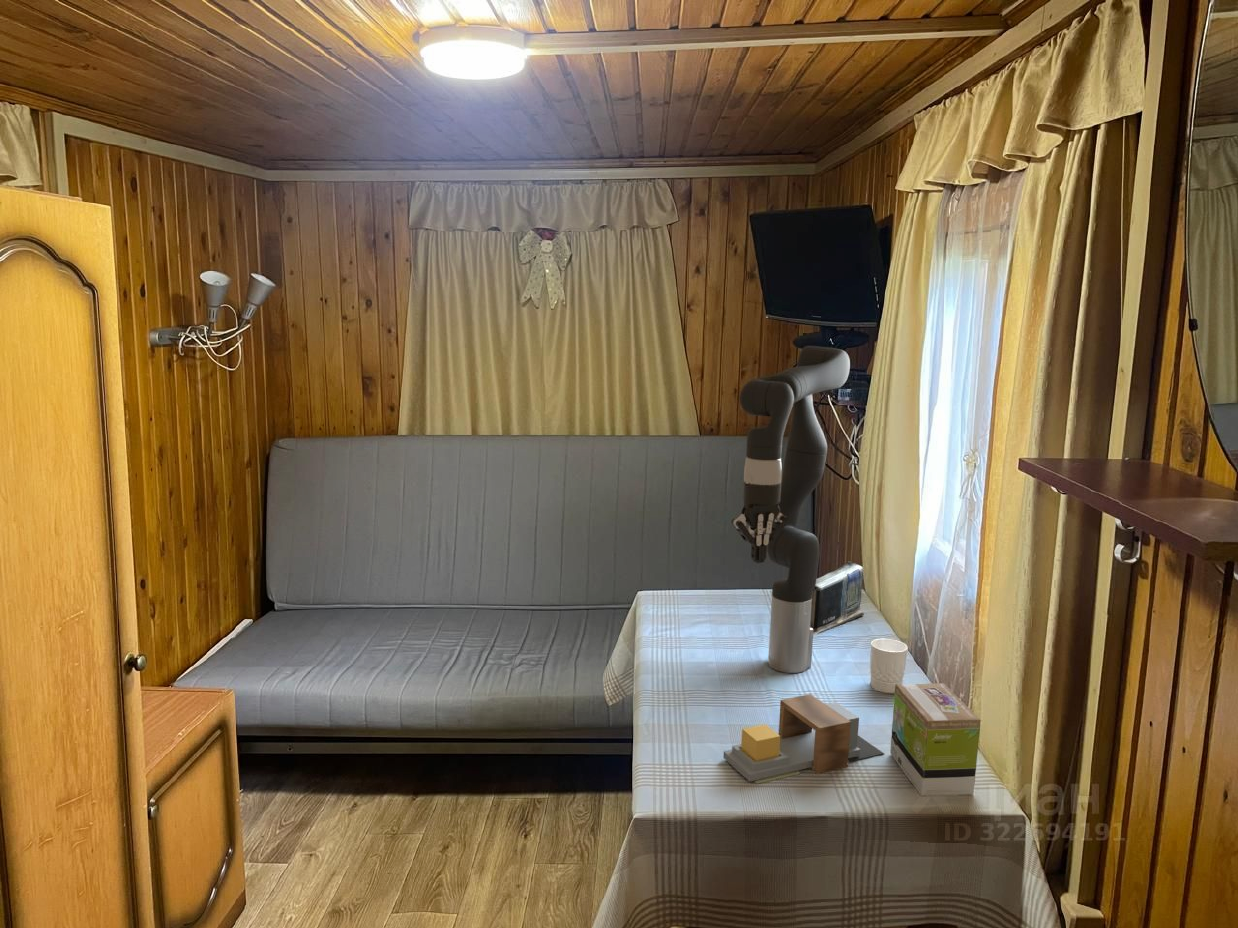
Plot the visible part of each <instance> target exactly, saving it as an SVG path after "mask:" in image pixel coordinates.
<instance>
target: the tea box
mask: <svg viewBox="0 0 1238 928" xmlns="http://www.w3.org/2000/svg"><path fill="white" fill-rule="evenodd" d="M893 694H894V696H893V710H892V724H891V738H890V752H889V753H890V755H891V756H892V757H893V759H894V760H895V762H896V763H897V765H898V766H899V767H900V768H901V770H902V771H903V772H904V774H905V775H906V777H907V779H908V780H909V781H910V782H911V783H912V785H913V787H914V788H915V789H916V790H917V792H918V794H919V795H920V796H921V797H940V796H941V797H942V796H944V797H946V796H963V795H964V796H966V795H967V796H968V795H974V794H975V793H974V792H975V783H976V772H977V763H978V752H979V750H978V749H979V742H980V741H979V740H980V733H981V721H982V720H981V719H980V717H979V716H977V714H975V713H974V712H973V711H972V710H971V709H970V708H969V707H968V706H967V705H966V704H965V703H964V702H963V701H962V700H961V699H960V698H959V697H958V696H957V695H956V694H955V693H954V692H953V691H952V690H951V689H950V688H949V687H948V686H947V685H946V684H945V683H944V682H942V683H940V682H939V683H938V682H937V683H912V684H910V683H908V684H907V683H906V684H905V683H904V684H902V685H897V684H896V685H895V693H893Z"/></svg>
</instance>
